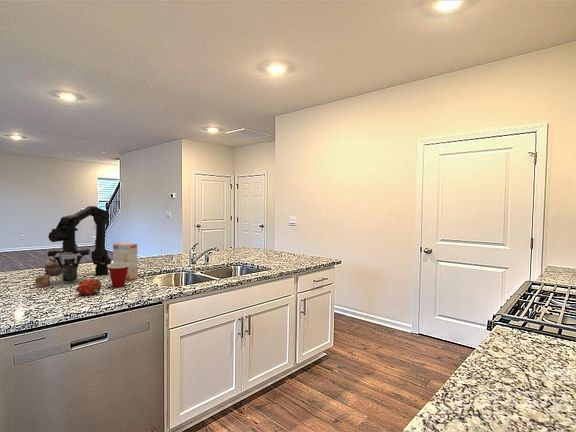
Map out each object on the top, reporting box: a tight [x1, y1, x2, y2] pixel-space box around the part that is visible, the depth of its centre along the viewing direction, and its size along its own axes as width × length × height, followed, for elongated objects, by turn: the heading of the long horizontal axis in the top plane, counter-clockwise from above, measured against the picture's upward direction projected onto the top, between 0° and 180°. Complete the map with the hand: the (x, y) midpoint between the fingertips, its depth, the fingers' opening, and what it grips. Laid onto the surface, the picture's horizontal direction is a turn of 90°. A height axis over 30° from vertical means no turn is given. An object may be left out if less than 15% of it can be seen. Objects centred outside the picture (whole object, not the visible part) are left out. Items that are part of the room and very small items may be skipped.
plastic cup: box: [107, 262, 129, 288], centre depth 181 cm, size 11×11×12 cm
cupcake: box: [44, 258, 62, 277], centre depth 205 cm, size 10×10×10 cm
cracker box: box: [112, 242, 138, 281], centre depth 199 cm, size 14×6×21 cm, turn 65°
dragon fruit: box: [75, 277, 102, 296], centre depth 165 cm, size 8×8×12 cm
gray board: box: [37, 278, 85, 289], centre depth 181 cm, size 20×14×1 cm
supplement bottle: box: [61, 257, 78, 281], centre depth 183 cm, size 7×7×12 cm
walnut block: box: [34, 274, 51, 289], centre depth 175 cm, size 5×5×5 cm
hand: (69, 268), depth 183 cm, fingers closed on supplement bottle, 7 cm apart
